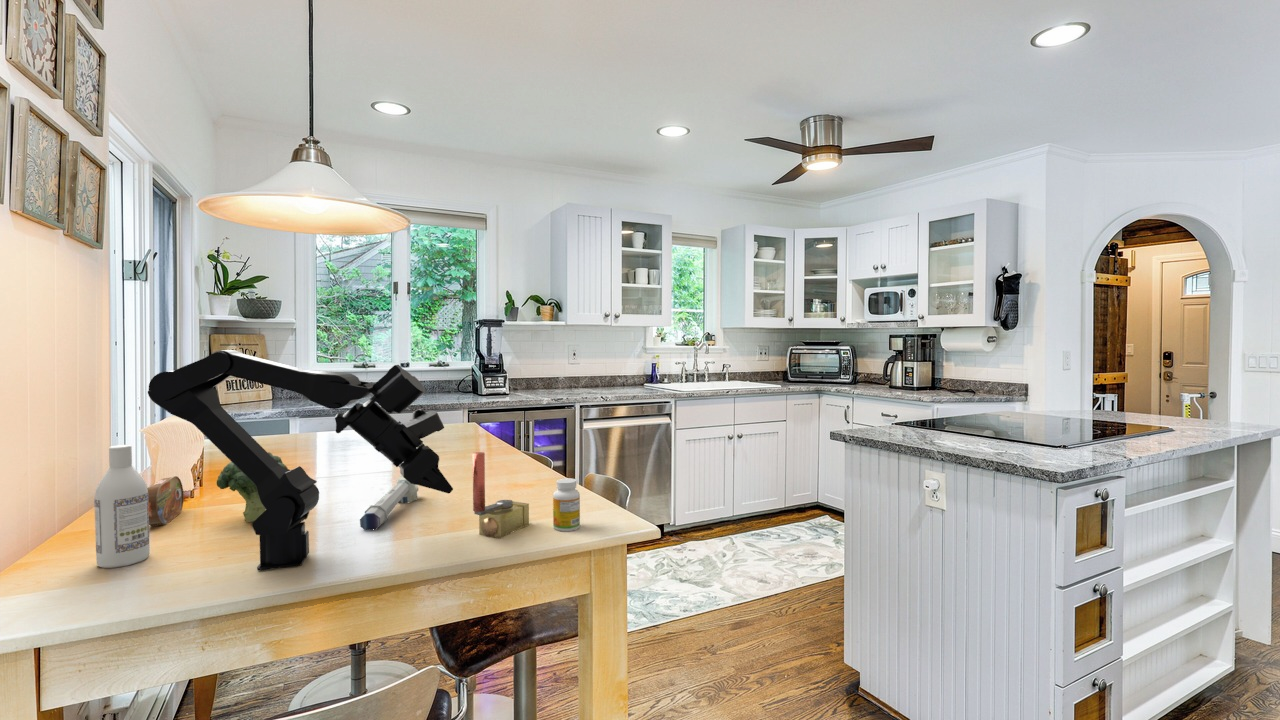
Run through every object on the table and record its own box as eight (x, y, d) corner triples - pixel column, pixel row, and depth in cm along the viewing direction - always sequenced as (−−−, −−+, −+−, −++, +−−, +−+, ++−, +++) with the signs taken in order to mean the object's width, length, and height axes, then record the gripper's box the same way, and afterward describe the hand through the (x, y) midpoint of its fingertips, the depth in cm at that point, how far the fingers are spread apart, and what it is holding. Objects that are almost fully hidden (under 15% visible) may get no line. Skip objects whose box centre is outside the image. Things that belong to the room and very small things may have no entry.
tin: (160, 529, 119) (158, 488, 119) (140, 531, 118) (139, 489, 118) (185, 509, 133) (184, 472, 133) (168, 511, 132) (167, 473, 132)
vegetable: (286, 524, 123) (284, 452, 122) (211, 533, 117) (209, 457, 117) (292, 509, 134) (290, 443, 133) (223, 516, 128) (222, 447, 127)
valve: (499, 538, 114) (499, 516, 114) (477, 535, 116) (477, 512, 116) (530, 524, 123) (530, 503, 123) (509, 520, 125) (509, 500, 125)
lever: (505, 503, 122) (504, 446, 121) (516, 506, 120) (515, 447, 119) (469, 514, 114) (468, 453, 114) (480, 517, 112) (479, 455, 112)
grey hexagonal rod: (355, 512, 118) (398, 468, 143) (357, 544, 119) (399, 494, 144) (382, 512, 119) (420, 468, 143) (384, 543, 120) (421, 494, 144)
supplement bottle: (554, 523, 123) (554, 477, 123) (580, 523, 124) (580, 477, 123) (552, 532, 118) (552, 483, 118) (579, 531, 118) (579, 483, 118)
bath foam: (159, 553, 106) (156, 442, 105) (130, 568, 99) (126, 449, 98) (117, 554, 105) (114, 442, 105) (85, 569, 99) (81, 450, 98)
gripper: (425, 401, 99) (490, 461, 105) (406, 392, 115) (464, 444, 121) (374, 452, 95) (444, 511, 101) (361, 435, 111) (423, 487, 117)
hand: (445, 485), depth 110 cm, fingers open, 9 cm apart
